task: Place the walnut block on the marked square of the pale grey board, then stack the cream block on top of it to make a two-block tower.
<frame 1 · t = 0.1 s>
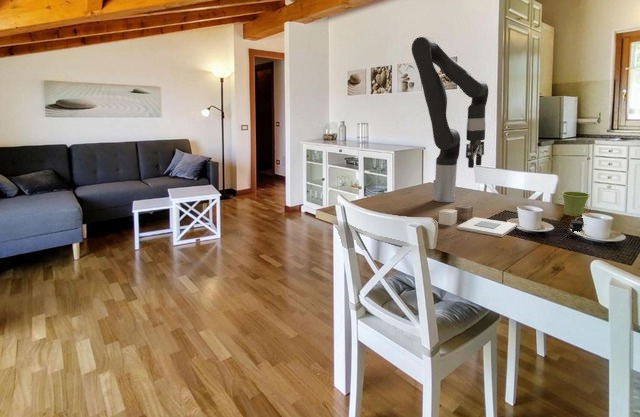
hand: (474, 166, 185), 17 cm above the table, tool pointing down, fingers open, 8 cm apart
plant pot: (573, 215, 168), on the table
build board: (487, 227, 153), on the table
black irregular block: (575, 234, 145), on the table
cream block: (447, 223, 160), on the table
walnut block: (463, 218, 166), on the table
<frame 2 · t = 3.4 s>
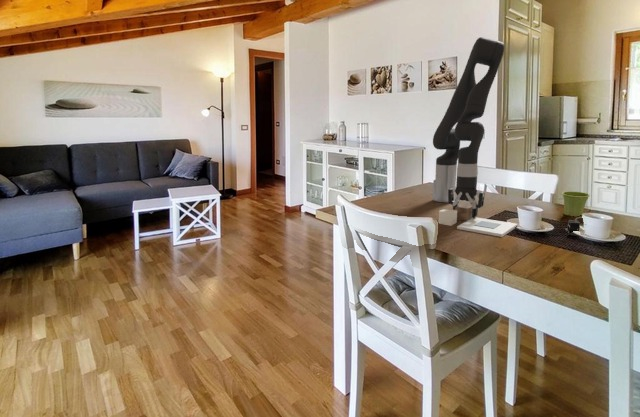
hand: (464, 216, 166), 1 cm above the table, tool pointing down, fingers open, 7 cm apart
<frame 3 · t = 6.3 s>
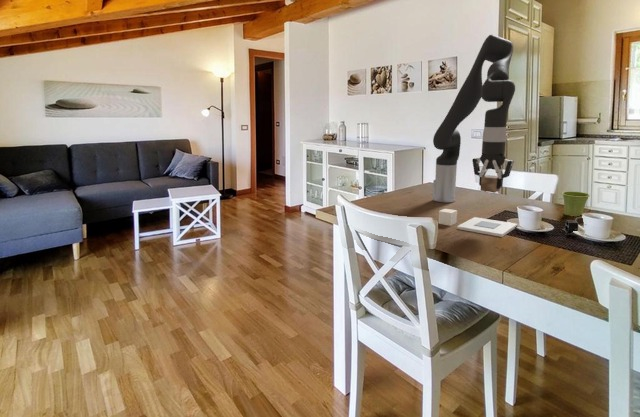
hand: (490, 187, 150), 15 cm above the table, tool pointing down, fingers closed on walnut block, 5 cm apart
walnut block: (489, 190, 150), point 14 cm above the table, touching gripper
when the fingers open (3 cm above the table, at t = 8.8 s): walnut block stays where it is, resting on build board.
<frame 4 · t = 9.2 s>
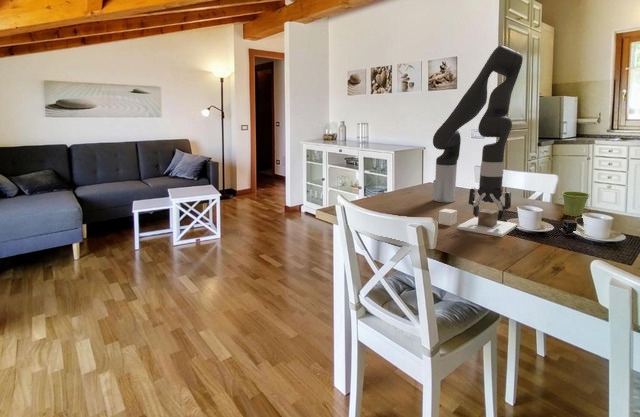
hand: (488, 218, 153), 4 cm above the table, tool pointing down, fingers open, 8 cm apart
walnut block: (487, 224, 153), point 1 cm above the table, touching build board
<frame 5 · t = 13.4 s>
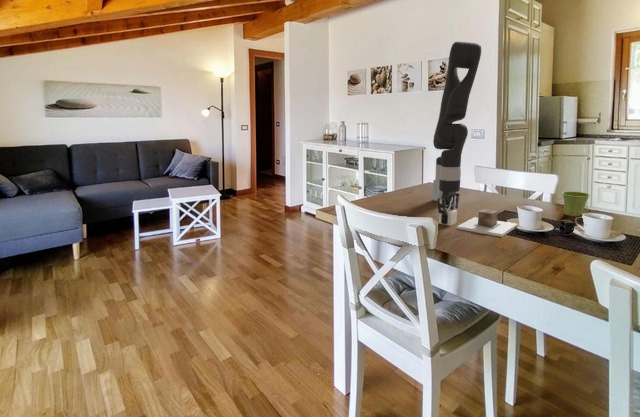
hand: (447, 221, 160), 0 cm above the table, tool pointing down, fingers closed on cream block, 5 cm apart
cream block: (447, 223, 160), on the table, touching gripper
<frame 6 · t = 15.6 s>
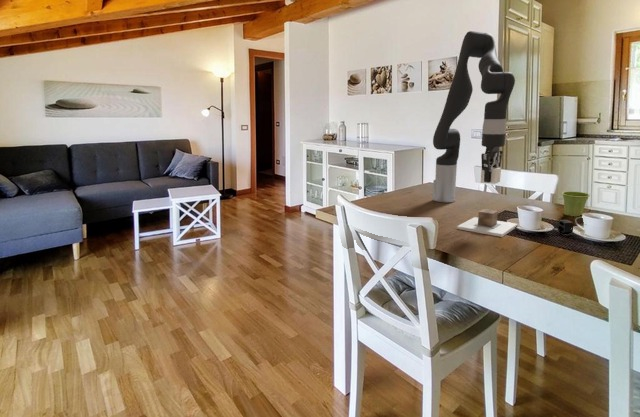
hand: (490, 180, 149), 17 cm above the table, tool pointing down, fingers closed on cream block, 5 cm apart
cream block: (490, 182, 149), point 17 cm above the table, touching gripper
when the fingers open (8 cm above the table, at t = 18.2 s): cream block drops 1 cm, resting on walnut block.
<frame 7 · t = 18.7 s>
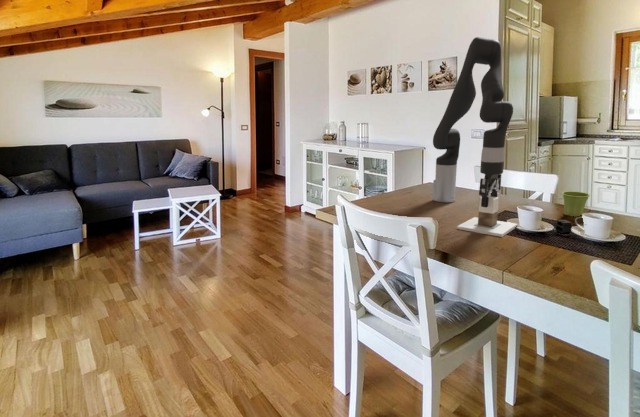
hand: (489, 204, 151), 9 cm above the table, tool pointing down, fingers open, 8 cm apart
cream block: (488, 211, 152), point 6 cm above the table, touching walnut block
walnut block: (487, 224, 153), point 1 cm above the table, touching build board, cream block
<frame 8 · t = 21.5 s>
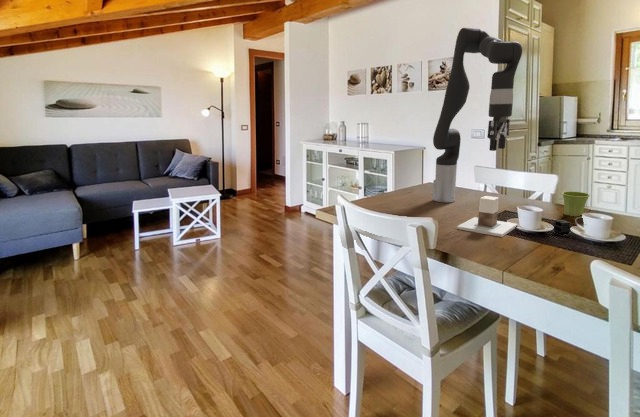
hand: (497, 149, 150), 28 cm above the table, tool pointing down, fingers open, 8 cm apart
at the end: walnut block 0.1 cm off-centre on the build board, point 1.2 cm above the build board's base; cream block 0.1 cm off-centre on the walnut block, point 5.0 cm above the walnut block's base; cream block tilted 0° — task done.
